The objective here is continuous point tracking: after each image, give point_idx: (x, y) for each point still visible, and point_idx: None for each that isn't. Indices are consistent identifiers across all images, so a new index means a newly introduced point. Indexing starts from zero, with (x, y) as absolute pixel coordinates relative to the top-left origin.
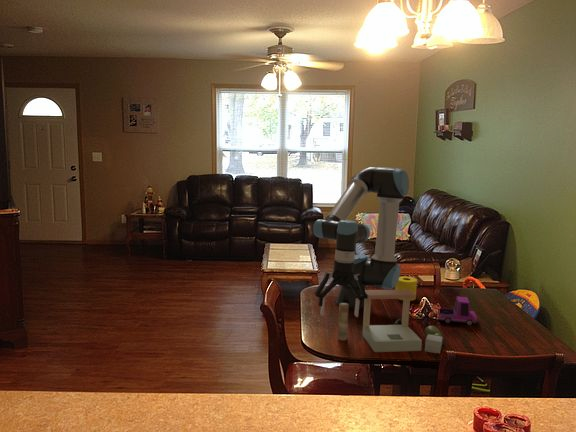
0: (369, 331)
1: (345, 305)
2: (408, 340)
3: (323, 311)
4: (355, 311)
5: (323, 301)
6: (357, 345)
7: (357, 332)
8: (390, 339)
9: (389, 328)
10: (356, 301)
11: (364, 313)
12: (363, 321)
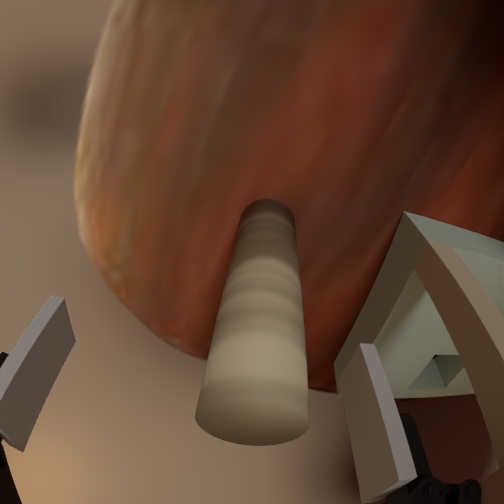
0: (398, 318)
1: (254, 440)
2: (449, 393)
3: (59, 363)
4: (358, 388)
5: (20, 428)
6: (304, 307)
7: (402, 166)
8: (407, 387)
9: (497, 303)
10: (377, 472)
11: (456, 319)
12: (436, 263)
